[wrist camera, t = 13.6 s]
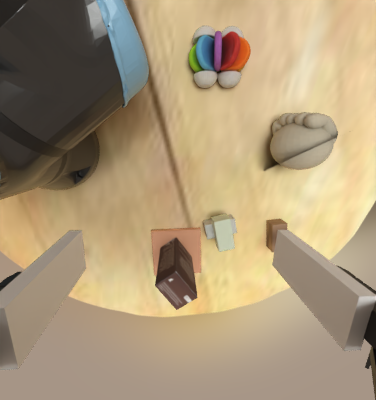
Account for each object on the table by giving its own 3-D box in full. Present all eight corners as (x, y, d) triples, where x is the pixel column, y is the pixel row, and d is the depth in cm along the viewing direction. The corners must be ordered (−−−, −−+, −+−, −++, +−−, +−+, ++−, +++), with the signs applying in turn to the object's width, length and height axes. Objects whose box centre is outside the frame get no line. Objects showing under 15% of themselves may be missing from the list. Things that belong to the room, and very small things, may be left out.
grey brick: (205, 233, 45) (207, 239, 42) (202, 220, 44) (204, 225, 41) (232, 227, 45) (237, 232, 42) (230, 214, 44) (234, 218, 41)
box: (158, 248, 44) (153, 285, 32) (176, 236, 43) (177, 269, 32) (175, 269, 45) (176, 311, 34) (192, 257, 45) (200, 296, 33)
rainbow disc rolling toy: (241, 89, 38) (256, 77, 31) (187, 89, 38) (191, 76, 31) (243, 35, 36) (260, 9, 29) (187, 34, 36) (190, 6, 29)
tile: (154, 272, 46) (154, 275, 45) (151, 229, 44) (151, 231, 43) (200, 269, 47) (200, 272, 46) (199, 227, 44) (200, 229, 43)
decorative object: (247, 137, 43) (294, 115, 42) (269, 183, 42) (316, 162, 42) (269, 110, 30) (335, 78, 29) (300, 176, 30) (368, 145, 29)
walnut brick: (279, 244, 47) (286, 250, 44) (266, 245, 47) (272, 252, 44) (279, 218, 45) (287, 223, 43) (266, 220, 45) (272, 225, 42)
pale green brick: (230, 241, 43) (234, 248, 40) (216, 244, 43) (219, 251, 40) (226, 213, 41) (230, 218, 38) (211, 216, 41) (213, 222, 38)
